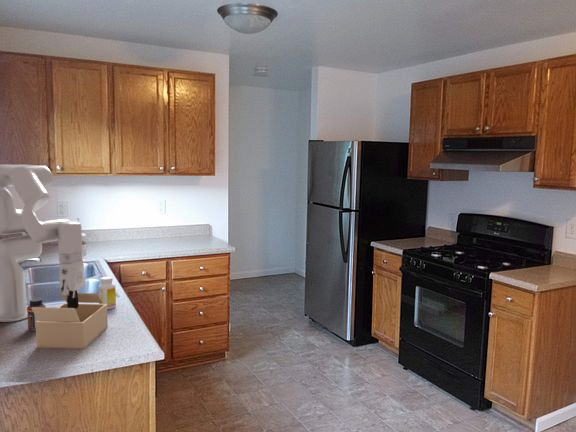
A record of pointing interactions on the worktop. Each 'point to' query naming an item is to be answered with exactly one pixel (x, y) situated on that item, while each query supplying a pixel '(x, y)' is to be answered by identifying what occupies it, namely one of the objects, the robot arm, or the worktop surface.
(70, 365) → the worktop surface
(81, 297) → the back flap
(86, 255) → the french press
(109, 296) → the supplement bottle
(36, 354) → the worktop surface
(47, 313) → the front flap
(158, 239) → the worktop surface
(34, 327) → the supplement bottle
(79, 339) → the carton
